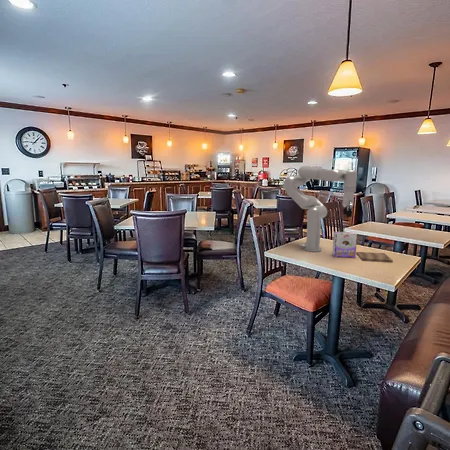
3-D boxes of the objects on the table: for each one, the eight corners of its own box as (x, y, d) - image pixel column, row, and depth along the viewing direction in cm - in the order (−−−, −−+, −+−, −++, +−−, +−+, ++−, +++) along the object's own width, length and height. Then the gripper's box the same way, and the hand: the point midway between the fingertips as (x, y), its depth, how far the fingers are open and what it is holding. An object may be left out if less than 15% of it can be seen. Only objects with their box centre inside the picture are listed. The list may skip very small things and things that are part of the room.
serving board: (362, 260, 192) (362, 258, 192) (356, 253, 208) (356, 251, 208) (392, 262, 189) (392, 260, 189) (384, 255, 205) (384, 253, 204)
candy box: (352, 255, 204) (354, 231, 201) (355, 257, 198) (357, 233, 195) (331, 254, 205) (333, 231, 202) (334, 257, 200) (336, 233, 197)
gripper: (340, 188, 202) (338, 213, 206) (346, 190, 186) (343, 217, 189) (352, 188, 201) (350, 213, 204) (358, 190, 184) (356, 218, 188)
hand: (347, 215), depth 197 cm, fingers open, 9 cm apart
